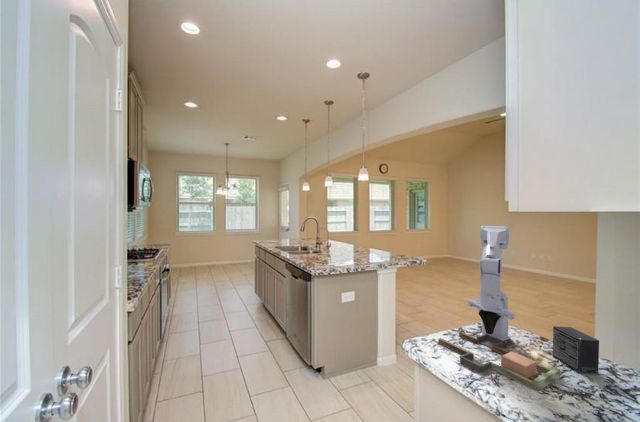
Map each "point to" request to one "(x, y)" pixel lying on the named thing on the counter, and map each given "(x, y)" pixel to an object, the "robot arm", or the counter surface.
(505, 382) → the counter surface
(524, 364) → the block
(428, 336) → the counter surface
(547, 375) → the lane
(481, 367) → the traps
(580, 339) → the small box
